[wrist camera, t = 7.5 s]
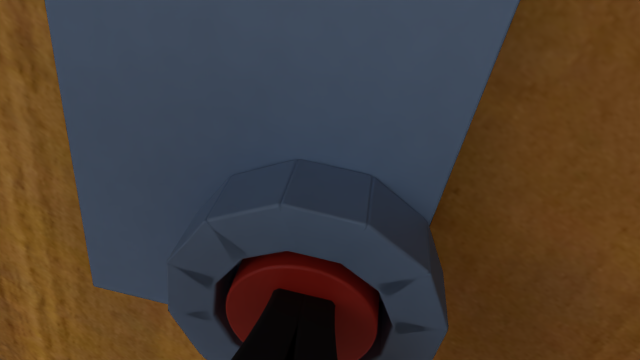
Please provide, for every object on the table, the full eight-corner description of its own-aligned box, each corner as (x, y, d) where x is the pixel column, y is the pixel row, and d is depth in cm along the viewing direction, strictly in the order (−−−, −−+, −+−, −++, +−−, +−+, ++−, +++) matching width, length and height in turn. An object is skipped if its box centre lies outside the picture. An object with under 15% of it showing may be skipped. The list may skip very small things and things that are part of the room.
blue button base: (400, 321, 15) (399, 424, 12) (121, 255, 15) (57, 340, 13) (578, -103, 8) (672, -96, 5) (70, -206, 9) (-98, -250, 6)
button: (363, 328, 13) (358, 385, 11) (241, 299, 13) (221, 351, 12) (396, 235, 11) (395, 289, 9) (251, 201, 11) (228, 250, 10)
